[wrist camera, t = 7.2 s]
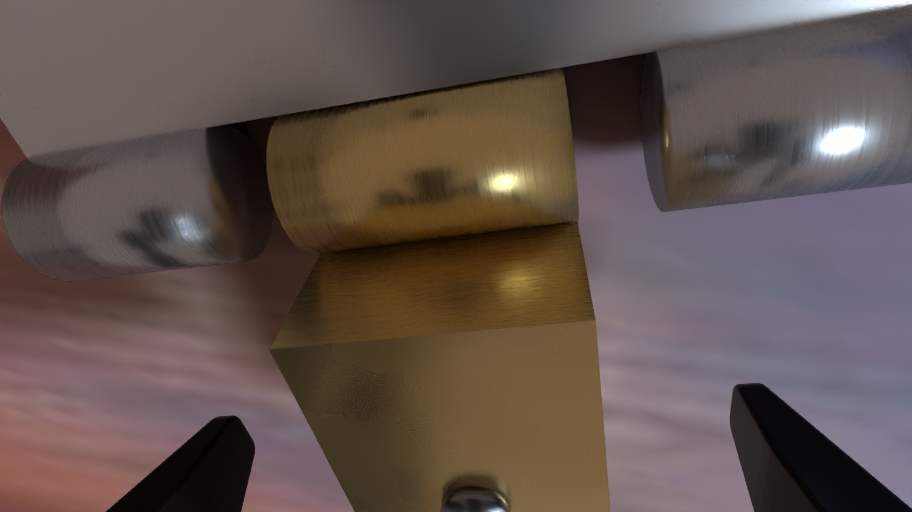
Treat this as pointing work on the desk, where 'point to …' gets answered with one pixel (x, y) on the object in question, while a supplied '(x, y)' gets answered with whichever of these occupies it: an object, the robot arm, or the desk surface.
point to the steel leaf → (407, 71)
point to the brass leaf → (444, 299)
